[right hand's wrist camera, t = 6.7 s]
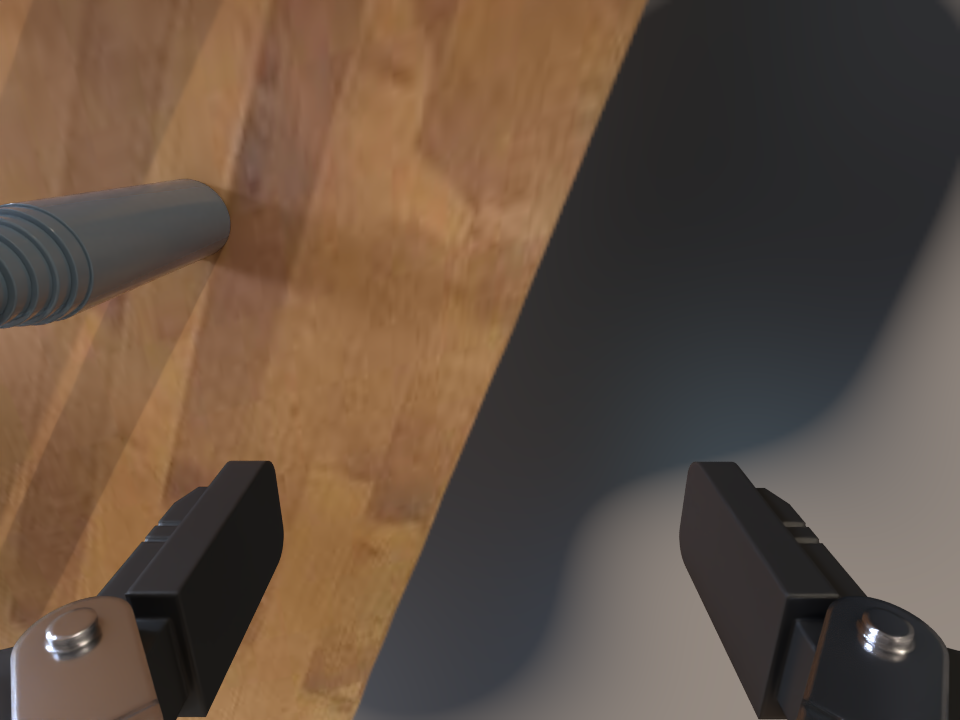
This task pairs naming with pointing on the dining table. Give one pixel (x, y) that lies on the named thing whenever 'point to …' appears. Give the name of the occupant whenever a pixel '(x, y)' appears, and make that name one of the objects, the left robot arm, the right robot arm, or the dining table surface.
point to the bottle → (101, 245)
